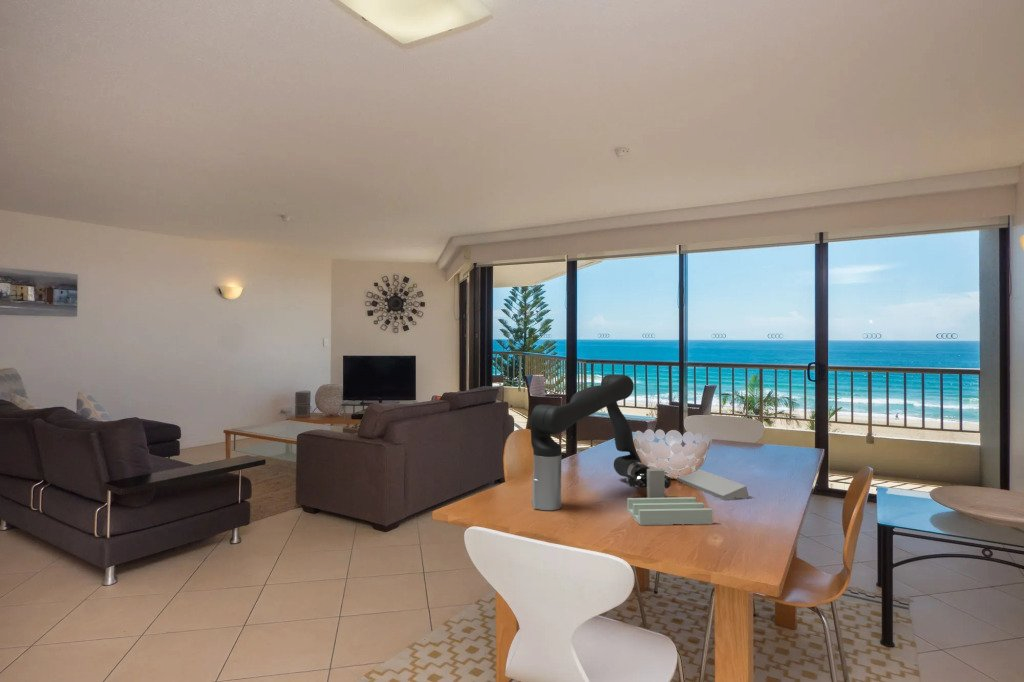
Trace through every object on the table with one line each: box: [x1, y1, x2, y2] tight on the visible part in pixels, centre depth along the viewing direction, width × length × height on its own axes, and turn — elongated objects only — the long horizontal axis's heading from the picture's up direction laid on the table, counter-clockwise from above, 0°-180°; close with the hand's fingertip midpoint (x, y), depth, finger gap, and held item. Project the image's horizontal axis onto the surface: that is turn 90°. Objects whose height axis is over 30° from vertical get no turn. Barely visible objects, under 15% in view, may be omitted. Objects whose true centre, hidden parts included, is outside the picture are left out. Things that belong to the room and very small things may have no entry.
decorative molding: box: [677, 468, 750, 501], centre depth 208 cm, size 34×5×10 cm
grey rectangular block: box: [646, 468, 666, 498], centre depth 183 cm, size 5×3×12 cm, turn 94°
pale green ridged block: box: [626, 496, 713, 526], centre depth 171 cm, size 22×14×4 cm, turn 94°
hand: (655, 485), depth 184 cm, fingers open, 8 cm apart
